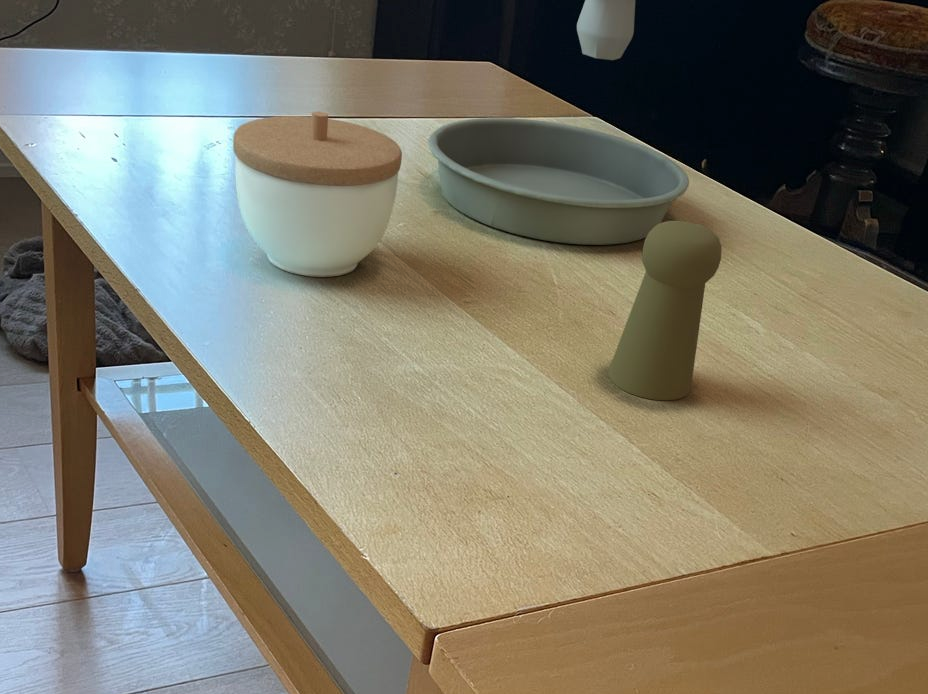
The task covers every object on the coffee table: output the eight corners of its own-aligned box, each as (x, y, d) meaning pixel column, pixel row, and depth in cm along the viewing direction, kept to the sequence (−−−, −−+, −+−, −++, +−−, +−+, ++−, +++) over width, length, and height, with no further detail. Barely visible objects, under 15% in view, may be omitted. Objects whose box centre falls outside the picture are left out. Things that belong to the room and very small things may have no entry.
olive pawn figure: (708, 392, 83) (753, 239, 76) (646, 406, 79) (686, 248, 73) (652, 356, 86) (689, 207, 79) (590, 368, 83) (624, 215, 76)
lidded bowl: (218, 230, 95) (218, 86, 88) (365, 229, 99) (376, 92, 92) (251, 293, 86) (254, 138, 79) (411, 289, 90) (427, 142, 83)
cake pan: (731, 238, 110) (744, 189, 107) (528, 267, 97) (537, 213, 94) (568, 155, 124) (576, 110, 121) (374, 170, 112) (378, 121, 109)
